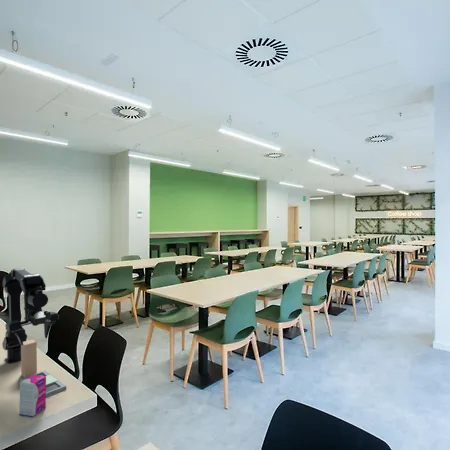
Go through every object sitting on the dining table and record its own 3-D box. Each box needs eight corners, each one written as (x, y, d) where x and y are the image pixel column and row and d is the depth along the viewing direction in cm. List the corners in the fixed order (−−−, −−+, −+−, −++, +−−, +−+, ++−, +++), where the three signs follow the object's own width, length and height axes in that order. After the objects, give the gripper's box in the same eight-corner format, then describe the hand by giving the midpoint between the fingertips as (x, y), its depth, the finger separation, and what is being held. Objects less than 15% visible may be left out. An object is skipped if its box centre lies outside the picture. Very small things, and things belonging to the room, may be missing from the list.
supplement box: (33, 418, 106) (33, 384, 106) (18, 415, 107) (18, 382, 107) (46, 408, 112) (46, 375, 112) (32, 406, 113) (32, 374, 113)
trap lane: (19, 382, 130) (19, 378, 130) (45, 373, 138) (45, 369, 138) (38, 399, 117) (38, 396, 117) (66, 388, 124) (66, 385, 124)
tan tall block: (21, 374, 136) (21, 342, 136) (32, 371, 139) (32, 339, 139) (25, 378, 133) (24, 345, 133) (36, 374, 137) (36, 341, 136)
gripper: (13, 312, 121) (15, 353, 121) (63, 301, 136) (65, 338, 136) (4, 308, 129) (6, 347, 129) (52, 299, 143) (54, 333, 143)
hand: (34, 341), depth 134 cm, fingers open, 9 cm apart
